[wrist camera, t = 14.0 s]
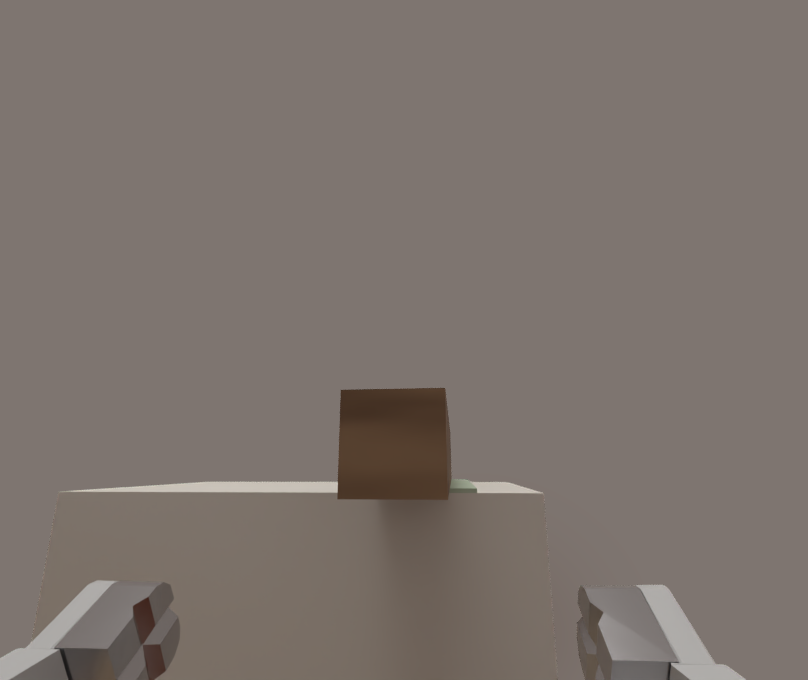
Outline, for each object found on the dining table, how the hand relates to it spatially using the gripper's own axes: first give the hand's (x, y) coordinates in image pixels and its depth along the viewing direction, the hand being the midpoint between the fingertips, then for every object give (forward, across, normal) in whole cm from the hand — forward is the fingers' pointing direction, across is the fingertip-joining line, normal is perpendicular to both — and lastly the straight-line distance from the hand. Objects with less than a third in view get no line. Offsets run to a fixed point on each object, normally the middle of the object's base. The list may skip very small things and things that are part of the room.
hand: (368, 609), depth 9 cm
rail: (+15, 0, +6) cm, 16 cm away
